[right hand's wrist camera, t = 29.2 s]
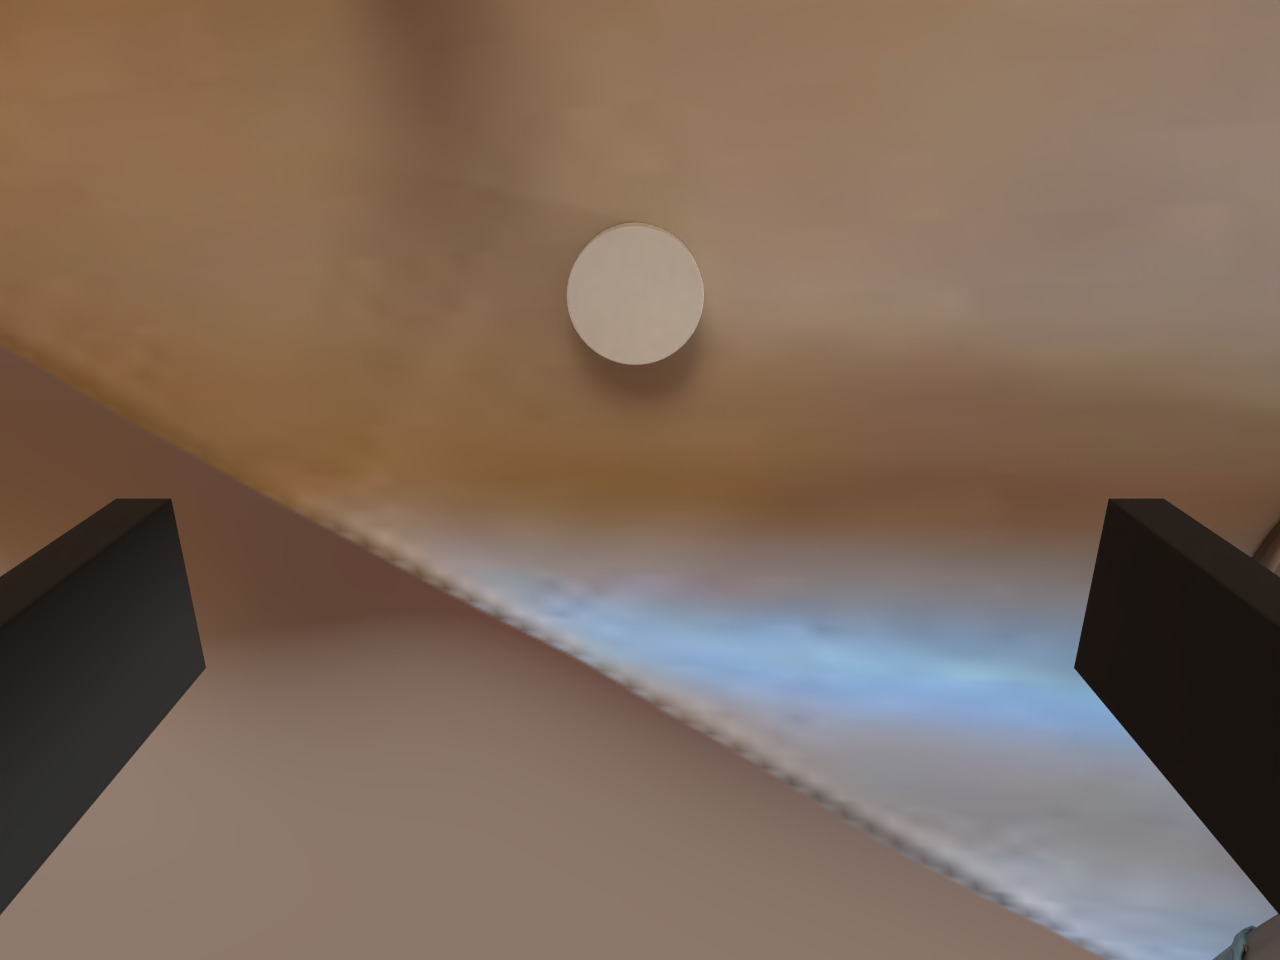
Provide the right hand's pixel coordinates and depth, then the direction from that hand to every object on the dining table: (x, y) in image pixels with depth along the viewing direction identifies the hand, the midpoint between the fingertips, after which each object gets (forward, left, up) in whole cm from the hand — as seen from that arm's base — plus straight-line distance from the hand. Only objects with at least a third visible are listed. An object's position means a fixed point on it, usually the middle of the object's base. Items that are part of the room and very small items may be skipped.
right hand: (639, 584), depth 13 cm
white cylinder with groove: (0, 0, -25) cm, 25 cm away
